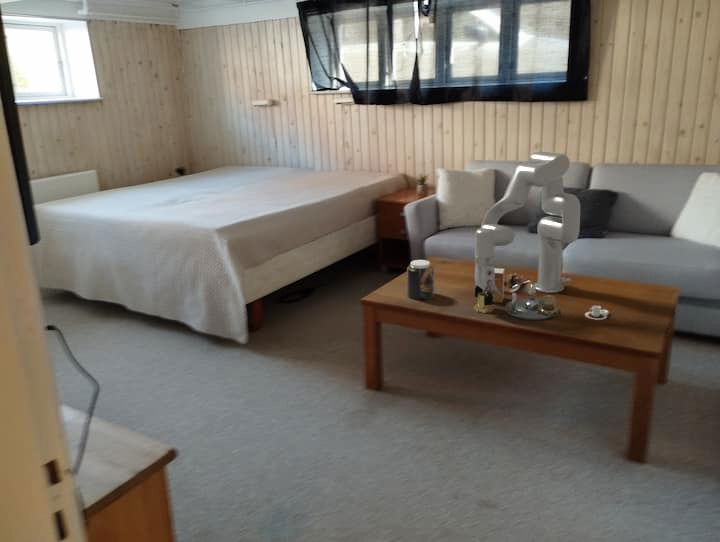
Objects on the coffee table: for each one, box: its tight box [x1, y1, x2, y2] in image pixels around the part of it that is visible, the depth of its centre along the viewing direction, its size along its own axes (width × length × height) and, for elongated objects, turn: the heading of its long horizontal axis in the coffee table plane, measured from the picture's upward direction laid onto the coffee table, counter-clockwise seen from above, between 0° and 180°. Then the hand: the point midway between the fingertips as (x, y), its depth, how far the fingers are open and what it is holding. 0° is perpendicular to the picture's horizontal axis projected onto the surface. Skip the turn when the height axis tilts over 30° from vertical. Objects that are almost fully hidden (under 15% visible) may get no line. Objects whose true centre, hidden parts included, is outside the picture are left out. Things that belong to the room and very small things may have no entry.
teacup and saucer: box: [584, 305, 610, 321], centre depth 229 cm, size 9×8×4 cm
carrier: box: [504, 283, 560, 321], centre depth 237 cm, size 20×20×8 cm
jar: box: [406, 259, 435, 301], centre depth 258 cm, size 12×12×15 cm
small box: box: [483, 267, 506, 304], centre depth 249 cm, size 8×6×13 cm
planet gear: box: [473, 292, 495, 314], centre depth 240 cm, size 8×7×6 cm
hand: (483, 300), depth 240 cm, fingers open, 9 cm apart
